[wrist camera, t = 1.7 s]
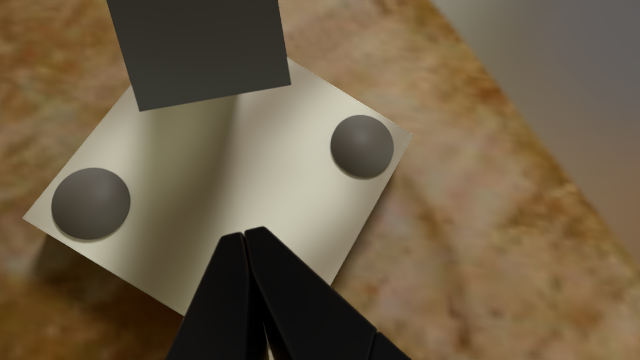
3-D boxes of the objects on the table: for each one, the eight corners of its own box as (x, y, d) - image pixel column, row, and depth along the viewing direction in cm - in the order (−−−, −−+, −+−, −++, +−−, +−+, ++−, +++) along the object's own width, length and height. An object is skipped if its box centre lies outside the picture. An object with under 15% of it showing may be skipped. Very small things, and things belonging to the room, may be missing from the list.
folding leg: (246, 63, 21) (291, 85, 10) (178, 74, 20) (139, 111, 9) (232, -10, 20) (264, -83, 8) (159, 0, 19) (86, -66, 8)
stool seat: (397, 149, 24) (414, 134, 21) (278, 362, 20) (280, 375, 18) (203, 30, 23) (196, 0, 21) (50, 224, 20) (20, 217, 17)
